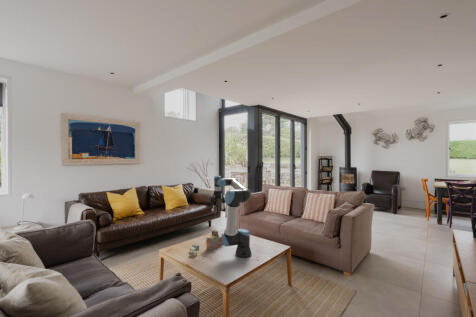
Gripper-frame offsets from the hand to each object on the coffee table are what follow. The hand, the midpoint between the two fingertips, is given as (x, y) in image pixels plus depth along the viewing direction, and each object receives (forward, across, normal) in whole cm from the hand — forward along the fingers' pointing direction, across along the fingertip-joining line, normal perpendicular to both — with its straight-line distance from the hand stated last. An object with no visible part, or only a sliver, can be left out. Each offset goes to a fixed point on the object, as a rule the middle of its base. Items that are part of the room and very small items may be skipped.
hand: (217, 210), depth 247 cm
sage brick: (+35, +33, +2) cm, 48 cm away
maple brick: (+35, +37, +9) cm, 52 cm away
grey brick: (+35, +27, -2) cm, 44 cm away
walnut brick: (+23, +9, +7) cm, 25 cm away
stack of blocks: (+35, +8, +7) cm, 37 cm away
